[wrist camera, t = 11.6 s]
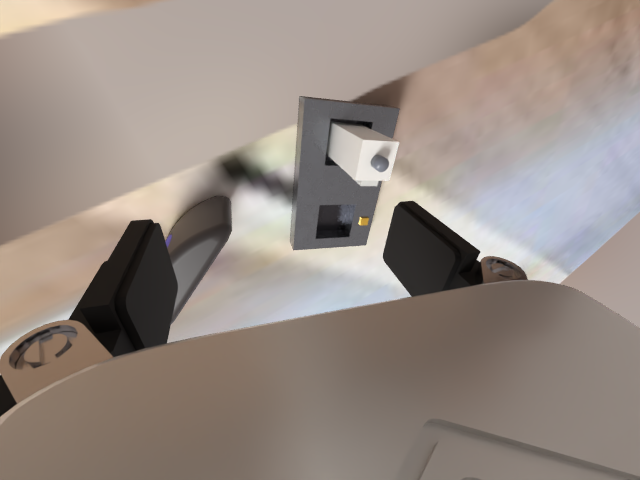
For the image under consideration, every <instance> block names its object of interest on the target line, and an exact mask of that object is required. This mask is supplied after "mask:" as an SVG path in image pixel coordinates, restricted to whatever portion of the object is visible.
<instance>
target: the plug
mask: <svg viewBox="0 0 640 480" xmlns="http://www.w3.org/2000/svg"><path fill="white" fill-rule="evenodd" d="M398 146H399V142H398V141H396V140H394V139H392V138H389V137H387V136H385V135H383V134H381V133H378V132H376V131H374V130H372V129H369V128H367V127H365V126H363V125H361V124H356V123H343V122H331V121H330V127H329V135H328V143H327V151H326V155H328V156H329V157H330V158H331V159H332V160H333V161H334V162H335V163H336V164H338V165H339V166H340V167H341V168H342V169H343V170H344V171H345V172H346V173H348V174H349V175H350V176H351V177H352V179H353V180H354V181H356V182H357V183H358V184H359V185H360V186H377V185H378V181H389V180H390V176H391V173H392V169H393V165H394V161H395V157H396V153H397V149H398Z"/></svg>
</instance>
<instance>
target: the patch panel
mask: <svg viewBox="0 0 640 480" xmlns="http://www.w3.org/2000/svg"><path fill="white" fill-rule="evenodd" d="M399 110H400V109H399V108H395V107H391V106H384V105H375V104H366V103H357V102H348V101H339V100H330V99H321V98H312V97H302V96H300V97H299V111H298V126H297V142H296V157H295V172H294V187H293V202H292V217H291V233H290V243H291V246H292V248H293V250H303V249H318V248H332V247H347V246H361V245H366V243H367V239H368V235H369V231H370V227H371V223H372V219H373V215H374V211H375V207H376V203H377V199H378V195H379V191H380V187H381V182H382V181H378V185H377V186H360V185H359V184H358V183H357V182H356V181H354V180H353V179H352V177H351V176H350V175H349V174H348V173H346V172H345V171H344V170H343V169H342V168H341V167H340V166H339V165H338V164H336V163H335V162H334V161H333V160H332V159H331V158H330V157H329V156H328V155H326V151H327V143H328V135H329V127H330V121H331V122H343V123H356V124H361V125H363V126H365V127H367V128H369V129H372V130H374V131H376V132H378V133H381V134H383V135H385V136H387V137H389V138H393V134H394V130H395V126H396V122H397V118H398V114H399Z"/></svg>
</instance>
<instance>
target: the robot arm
mask: <svg viewBox="0 0 640 480" xmlns="http://www.w3.org/2000/svg"><path fill="white" fill-rule="evenodd" d="M479 253H480V251H479V250H478V249H476V248H475V247H474V246H472V245H471V244H470V243H469V242H467V241H466V240H465V239H463V238H462V237H461V236H459V235H458V234H457V233H455V232H454V231H453V230H451V229H450V228H449V227H447V226H446V225H445V224H443V223H442V222H441V221H439V220H438V219H437V218H435V217H434V216H433V215H431V214H430V213H429V212H427V211H426V210H425V209H423V208H422V207H421V206H419V205H418V204H417V203H415V202H414V201H405V202H400V203H399V204H398V205H397V206H395V208H394V212H393V216H392V220H391V224H390V228H389V232H388V236H387V240H386V245H385V249H384V253H383V259H384V261H385V263H386V264H387V265H388V267H389V268H390V269H391V271H392V272H393V273H394V274H395V276H396V277H397V278H398V280H399V281H400V282H401V283H402V285H403V286H404V287H405V288H406V290H407V291H408V292H409V294H410V295H411V296H412V297H407V298H401V299H396V300H390V301H385V302H379V303H374V304H368V305H363V306H358V307H352V308H347V309H341V310H336V311H331V312H325V313H320V314H314V315H309V316H304V317H299V318H293V319H288V320H283V321H278V322H272V323H267V324H262V325H257V326H251V327H246V328H241V329H236V330H230V331H225V332H220V333H215V334H209V335H204V336H199V337H194V338H189V339H185V340H180V341H176V342H171V343H167V339H168V335H169V330H170V325H171V320H172V316H173V311H174V306H175V301H176V297H177V292H178V282H177V279H176V275H175V272H174V269H173V265H172V262H171V259H170V256H169V252H168V249H167V246H166V243H165V239H164V236H163V233H162V229H161V226H160V224H159V223H154V222H153V221H152V220H151V219H150V220H136V221H131V222H130V224H129V225H128V227H127V229H126V230H125V232H124V234H123V236H122V237H121V239H120V241H119V242H118V244H117V246H116V247H115V249H114V251H113V252H112V254H111V256H110V258H109V259H108V261H105V262H104V263H103V264H102V265H101V267H100V269H99V270H98V272H97V274H96V275H95V277H94V278H93V280H92V282H91V283H90V285H89V287H88V288H87V290H86V292H85V293H84V295H83V297H82V298H81V300H80V302H79V303H78V305H77V306H76V308H75V310H74V311H73V313H72V315H71V316H70V318H69V320H63V321H56V322H53V323H49V324H46V325H43V326H41V327H39V328H36V329H34V330H32V331H30V332H29V333H27V334H25V335H24V336H22V337H20V338H19V339H18V340H17V341H15V342H14V343H13V344H12V345H10V346H9V348H8V349H7V350H6V351H5V352H4V353H3V354H2V356H1V359H0V373H1V375H0V480H640V328H639V327H637V326H636V325H634V324H633V323H631V322H630V321H628V320H627V319H625V318H623V317H622V316H620V315H619V314H617V313H615V312H614V311H612V310H611V309H609V308H608V307H606V306H604V305H603V304H601V303H600V302H598V301H596V300H595V299H593V298H591V297H590V296H588V295H586V294H584V293H583V292H581V291H579V290H576V289H574V288H571V287H568V286H565V285H561V284H556V283H551V282H544V281H535V280H528V279H527V276H526V274H525V272H524V271H523V270H522V269H521V268H520V267H519V266H517V265H516V264H514V263H513V262H510V261H508V260H506V259H503V258H500V257H494V256H488V257H484V258H483V259H482V260H481V261H480V262H479V261H477V260H476V259H477V257H478V255H479Z"/></svg>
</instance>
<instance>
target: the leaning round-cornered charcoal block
mask: <svg viewBox="0 0 640 480" xmlns="http://www.w3.org/2000/svg"><path fill="white" fill-rule="evenodd" d="M231 231H232V218H231V201H230V199H229V198H227V197H225V196H217V197H213V198H210V199H208V200H205V201H203V202H201V203H200V204H198V205H196V206H195V207H193V208H192V209H191V210H189V211H188V212H187V213H186V214H184V215H183V216H182V217H181V218H180V220H179V221H178V222H177V223H176V224H175V226H174V227H173V228H172V230H171V232H170V233H169V235H168V237H167V239H166V242H165V243H166V246H167V249H168V252H169V256H170V259H171V262H172V265H173V269H174V272H175V275H176V279H177V282H178V292H177V297H176V301H175V306H174V311H173V316H172V320H171V324H172V323H173V322H174V320H175V319H176V317H177V316H178V314H179V313H180V311H181V310H182V308H183V307H184V305H185V304H186V302H187V301H188V299H189V298H190V296H191V295H192V293H193V292H194V290H195V289H196V287H197V286H198V284H199V283H200V281H201V280H202V278H203V277H204V275H205V274H206V272H207V271H208V269H209V268H210V266H211V265H212V263H213V261H214V260H215V258H216V257H217V255H218V254H219V252H220V251H221V249H222V248H223V246H224V245H225V243H226V242H227V240H228V238H229V236H230V234H231Z"/></svg>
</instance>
